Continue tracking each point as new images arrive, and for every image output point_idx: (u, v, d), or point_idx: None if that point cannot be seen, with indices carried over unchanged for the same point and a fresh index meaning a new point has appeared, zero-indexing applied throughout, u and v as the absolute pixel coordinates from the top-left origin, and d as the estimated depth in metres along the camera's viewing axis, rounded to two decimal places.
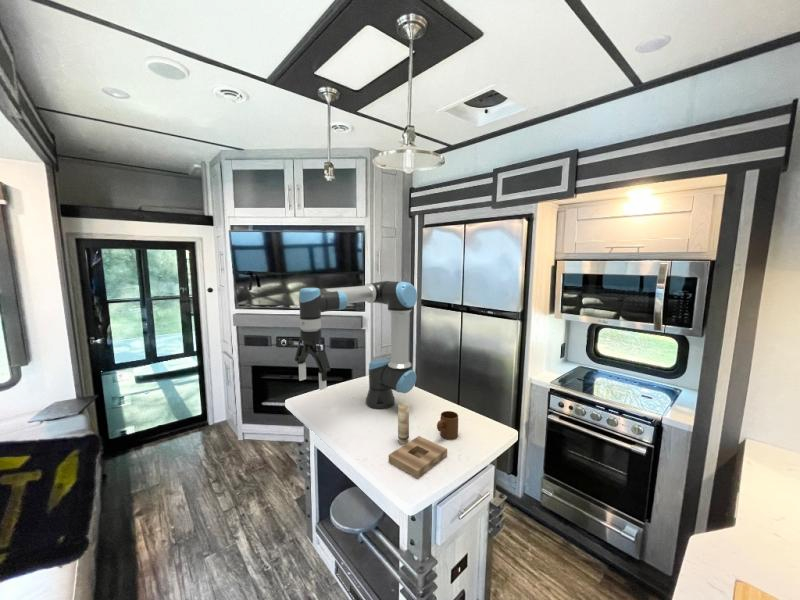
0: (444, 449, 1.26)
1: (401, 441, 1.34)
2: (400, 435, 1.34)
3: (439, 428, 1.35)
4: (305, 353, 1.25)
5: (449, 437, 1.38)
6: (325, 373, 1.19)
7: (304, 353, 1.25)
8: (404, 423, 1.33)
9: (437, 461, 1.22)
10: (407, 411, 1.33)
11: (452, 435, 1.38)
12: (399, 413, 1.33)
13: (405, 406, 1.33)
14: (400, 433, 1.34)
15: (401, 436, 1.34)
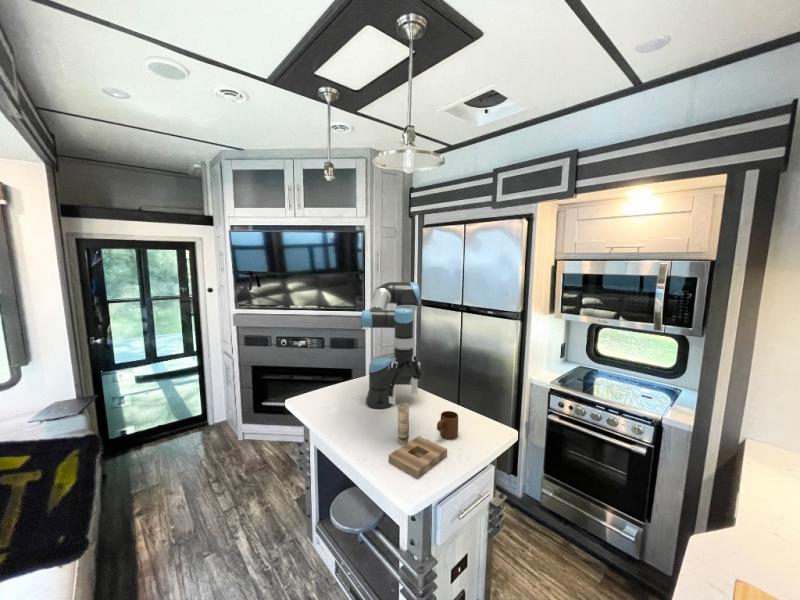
0: (444, 449, 1.26)
1: (401, 441, 1.34)
2: (400, 435, 1.34)
3: (439, 428, 1.35)
4: (408, 368, 1.35)
5: (449, 437, 1.38)
6: (389, 389, 1.27)
7: None
8: (404, 423, 1.33)
9: (437, 461, 1.22)
10: (407, 411, 1.33)
11: (452, 435, 1.38)
12: (399, 413, 1.33)
13: (405, 406, 1.33)
14: (400, 433, 1.34)
15: (401, 436, 1.34)
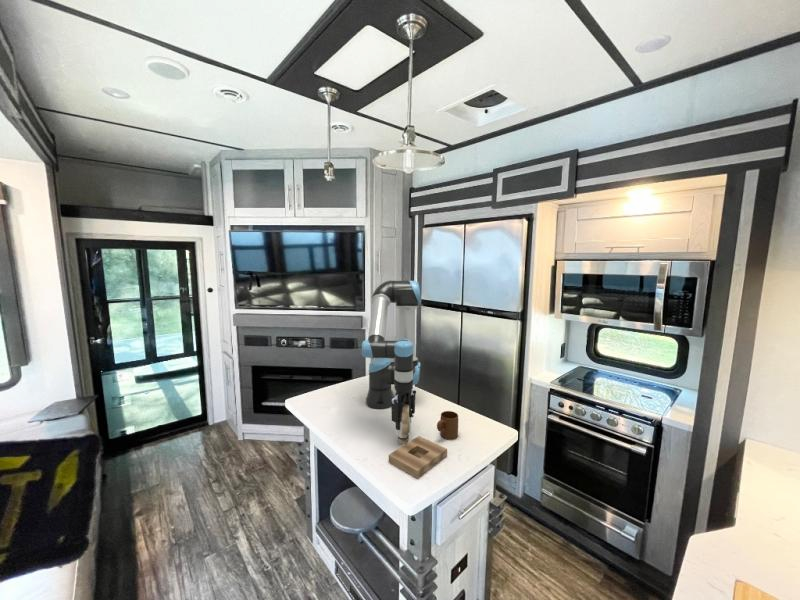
0: (444, 449, 1.26)
1: (401, 441, 1.34)
2: None
3: (439, 428, 1.35)
4: (405, 402, 1.36)
5: (449, 437, 1.38)
6: (397, 423, 1.32)
7: None
8: (404, 423, 1.33)
9: (437, 461, 1.22)
10: (407, 411, 1.33)
11: (452, 435, 1.38)
12: None
13: (405, 406, 1.33)
14: None
15: None
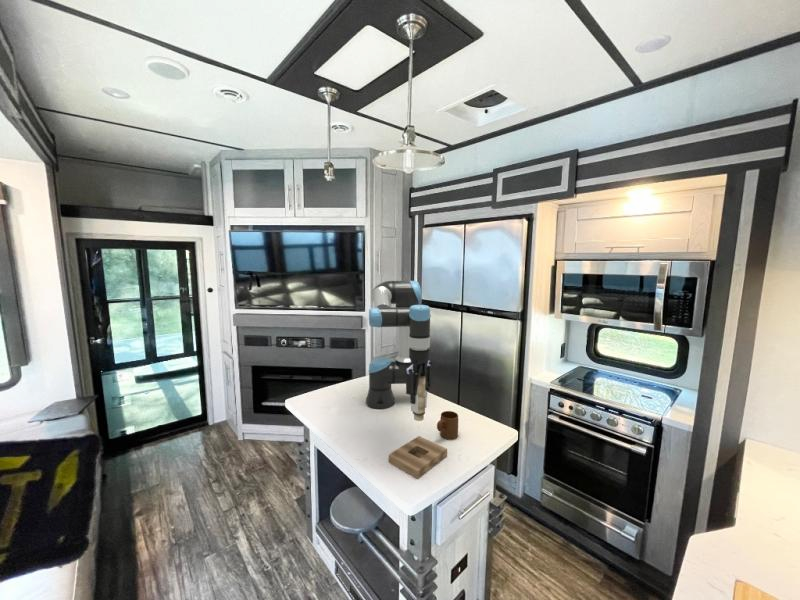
0: (444, 449, 1.26)
1: (416, 417, 1.21)
2: None
3: (439, 428, 1.35)
4: (420, 373, 1.22)
5: (449, 437, 1.38)
6: (412, 396, 1.18)
7: None
8: (420, 397, 1.19)
9: (437, 461, 1.22)
10: (423, 383, 1.19)
11: (452, 435, 1.38)
12: None
13: (421, 378, 1.19)
14: None
15: None
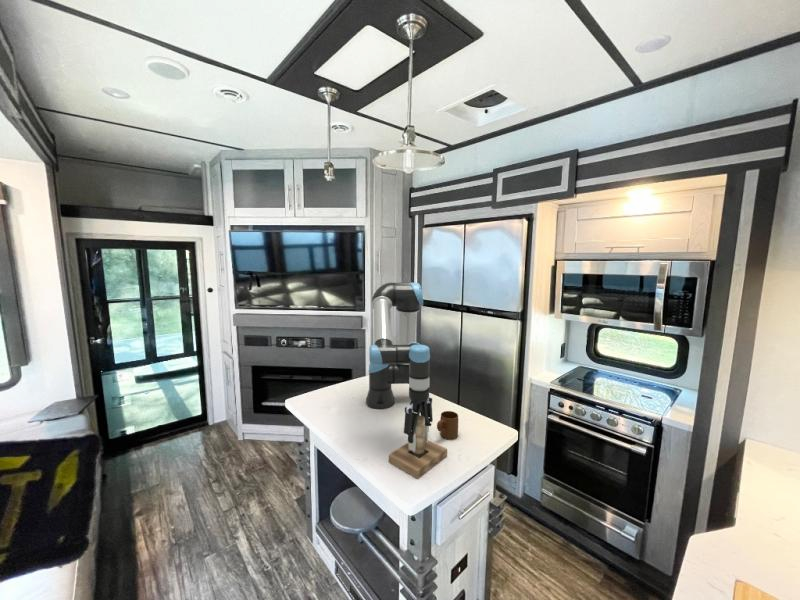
0: (444, 449, 1.26)
1: None
2: (415, 451, 1.22)
3: (439, 428, 1.35)
4: (421, 411, 1.24)
5: (449, 437, 1.38)
6: (409, 436, 1.19)
7: None
8: (419, 438, 1.21)
9: (437, 461, 1.22)
10: (423, 424, 1.21)
11: (452, 435, 1.38)
12: None
13: (421, 419, 1.21)
14: (415, 448, 1.22)
15: (416, 452, 1.22)
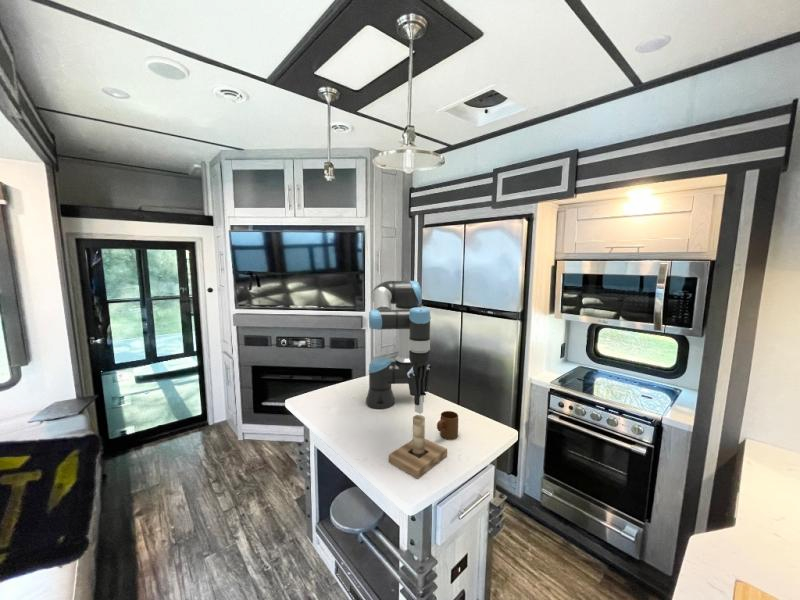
0: (444, 449, 1.26)
1: None
2: (415, 450, 1.22)
3: (439, 428, 1.35)
4: None
5: (449, 437, 1.38)
6: (416, 398, 1.20)
7: None
8: (419, 438, 1.21)
9: (437, 461, 1.22)
10: (423, 424, 1.21)
11: (452, 435, 1.38)
12: (414, 426, 1.21)
13: (421, 419, 1.21)
14: (415, 448, 1.22)
15: (416, 452, 1.22)
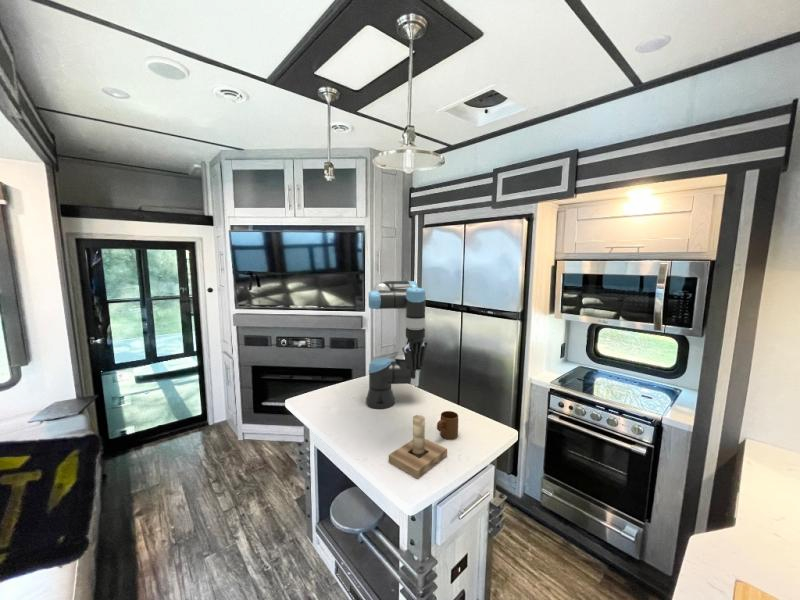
0: (444, 449, 1.26)
1: None
2: (415, 450, 1.22)
3: (439, 428, 1.35)
4: None
5: (449, 437, 1.38)
6: (412, 372, 1.29)
7: None
8: (419, 438, 1.21)
9: (437, 461, 1.22)
10: (423, 424, 1.21)
11: (452, 435, 1.38)
12: (414, 426, 1.21)
13: (421, 419, 1.21)
14: (415, 448, 1.22)
15: (416, 452, 1.22)
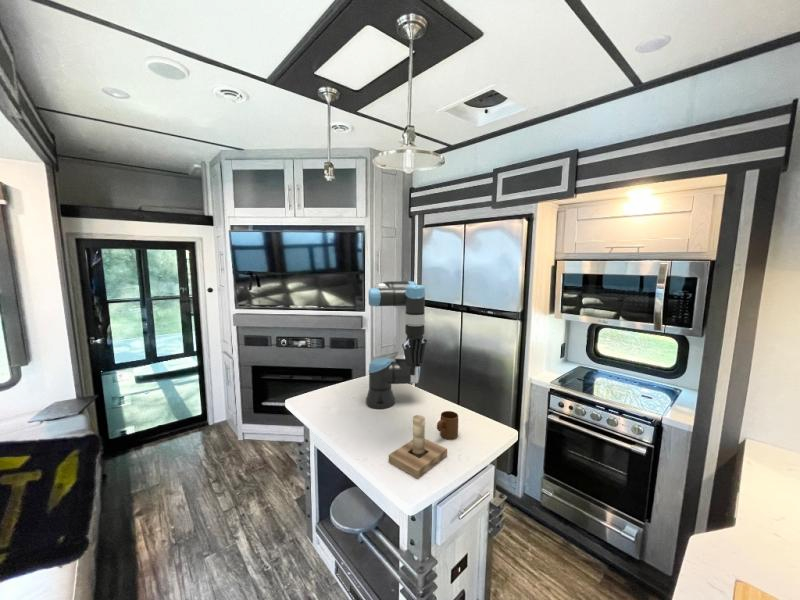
0: (444, 449, 1.26)
1: None
2: (415, 450, 1.22)
3: (439, 428, 1.35)
4: None
5: (449, 437, 1.38)
6: (411, 368, 1.29)
7: None
8: (419, 438, 1.21)
9: (437, 461, 1.22)
10: (423, 424, 1.21)
11: (452, 435, 1.38)
12: (414, 426, 1.21)
13: (421, 419, 1.21)
14: (415, 448, 1.22)
15: (416, 452, 1.22)
